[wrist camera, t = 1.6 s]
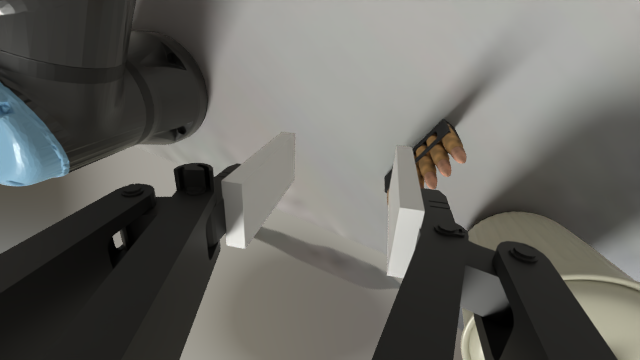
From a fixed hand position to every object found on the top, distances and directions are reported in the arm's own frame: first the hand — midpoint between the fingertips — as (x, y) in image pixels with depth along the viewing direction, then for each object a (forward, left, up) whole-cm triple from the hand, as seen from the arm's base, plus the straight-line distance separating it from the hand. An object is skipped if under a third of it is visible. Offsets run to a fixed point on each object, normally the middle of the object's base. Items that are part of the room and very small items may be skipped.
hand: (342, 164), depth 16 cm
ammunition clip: (+7, -7, -25) cm, 27 cm away
